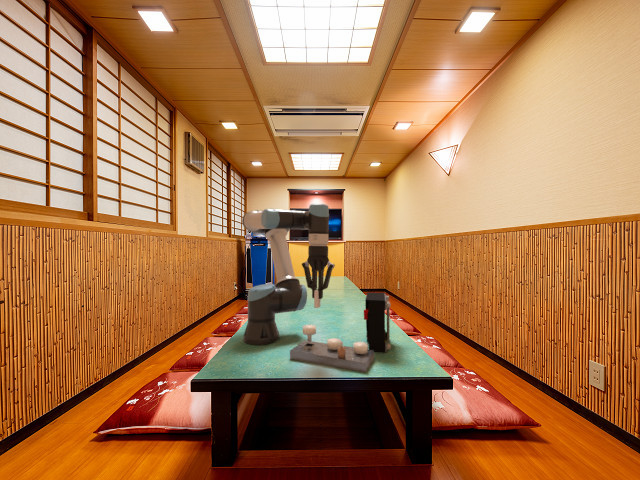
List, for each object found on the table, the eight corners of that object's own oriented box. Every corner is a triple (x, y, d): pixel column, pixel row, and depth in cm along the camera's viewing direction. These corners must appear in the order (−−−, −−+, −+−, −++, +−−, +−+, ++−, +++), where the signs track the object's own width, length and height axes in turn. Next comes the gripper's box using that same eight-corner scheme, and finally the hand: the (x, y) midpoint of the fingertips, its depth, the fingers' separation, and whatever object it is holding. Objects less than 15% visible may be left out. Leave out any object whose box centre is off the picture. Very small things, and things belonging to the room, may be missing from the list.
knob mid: (325, 356, 105) (325, 341, 105) (330, 352, 110) (330, 337, 110) (338, 358, 103) (338, 343, 103) (342, 354, 108) (342, 339, 108)
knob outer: (351, 361, 101) (351, 345, 101) (355, 356, 106) (355, 341, 106) (365, 363, 99) (365, 347, 99) (369, 358, 104) (369, 342, 104)
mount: (290, 358, 105) (290, 350, 105) (304, 347, 116) (304, 340, 116) (365, 372, 94) (365, 363, 94) (374, 358, 105) (374, 350, 105)
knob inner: (300, 342, 109) (300, 327, 109) (306, 338, 114) (306, 324, 114) (312, 343, 107) (312, 329, 107) (318, 339, 112) (318, 325, 112)
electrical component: (390, 353, 110) (390, 300, 110) (363, 351, 112) (363, 299, 112) (389, 338, 127) (389, 293, 127) (365, 337, 129) (365, 292, 129)
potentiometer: (336, 357, 98) (336, 342, 98) (339, 354, 101) (339, 340, 101) (343, 358, 97) (343, 343, 97) (346, 355, 100) (346, 341, 100)
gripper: (298, 244, 108) (297, 307, 109) (331, 246, 104) (330, 311, 104) (306, 244, 115) (305, 303, 116) (337, 245, 111) (336, 306, 111)
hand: (317, 306), depth 110 cm, fingers closed
